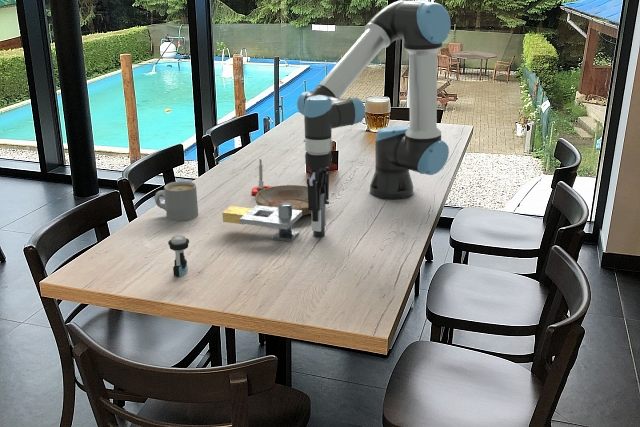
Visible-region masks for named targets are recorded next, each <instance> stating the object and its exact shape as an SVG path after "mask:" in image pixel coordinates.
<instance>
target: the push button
mask: <svg viewBox="0 0 640 427" xmlns="http://www.w3.org/2000/svg"><path fill="white" fill-rule="evenodd" d="M167 242H168V246H169V249H170V250H171V251H173V252H174V253H175V259H174V265H173V267H172V269H173V276H174V277H183V276H184V274H187V273H188V261H187V259H186V256H185V250H187V249H188V248H189V243H190V239H188V238H187V237H186V236H184V235H180V234H179V235H174V236H172V237H171V239H169V240H168V241H167Z"/></svg>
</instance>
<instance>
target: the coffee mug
mask: <svg viewBox="0 0 640 427" xmlns="http://www.w3.org/2000/svg"><path fill="white" fill-rule="evenodd" d="M197 193H198V192H197V184H196V183H194V182H193V181H192V182H191V181H186V180H185V181H184V180H181V181H174V182H173V181H171V182H169V183H166V185H164V187H163V190H158V191H156V192H155V195H154V200H155V201H154V202H155V205H156V206H157V207H158V208H160V209H162V210H164V211H165V212H166V218H167V219H168V220H170V221H175V222H186V221H190V220H194V219H195V218H197V217H198V216H199V206H198V195H197ZM160 196H162V197H163V198H164V203H162V202H161V200H160Z"/></svg>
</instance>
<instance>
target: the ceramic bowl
mask: <svg viewBox="0 0 640 427" xmlns="http://www.w3.org/2000/svg"><path fill="white" fill-rule="evenodd" d="M254 196H255V198H254V199H255V203H256V205H259V206H268V207H276V208H278V204H280V203H291V204H292V209H294V210H302V216H307V215H311V211H310V210H308V186H307V185H298V184H285V185H276V186H275V185H274V186H272V187H269V188H266V189H263V190H261V191H259V192H258V193H257V194H256V195H254Z"/></svg>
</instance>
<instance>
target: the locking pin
mask: <svg viewBox="0 0 640 427" xmlns="http://www.w3.org/2000/svg"><path fill="white" fill-rule="evenodd" d="M325 205H326V204H325V194H324V193H322V192H321V195H320V210H321V232H319V231H312V232H313V233H312V236H313V237H314V238H324V237H325V234H326V233H325V232H326V230H325V228H326V226H325Z"/></svg>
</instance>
